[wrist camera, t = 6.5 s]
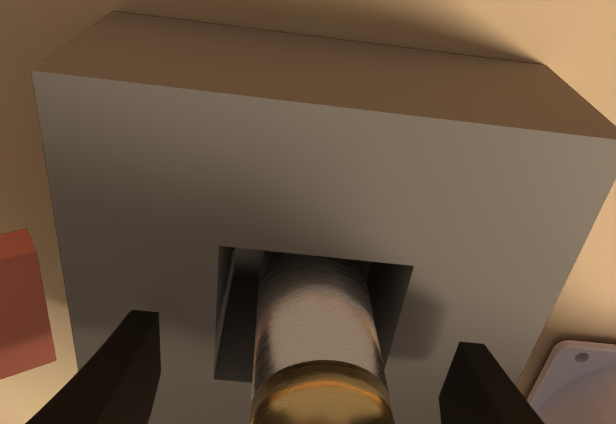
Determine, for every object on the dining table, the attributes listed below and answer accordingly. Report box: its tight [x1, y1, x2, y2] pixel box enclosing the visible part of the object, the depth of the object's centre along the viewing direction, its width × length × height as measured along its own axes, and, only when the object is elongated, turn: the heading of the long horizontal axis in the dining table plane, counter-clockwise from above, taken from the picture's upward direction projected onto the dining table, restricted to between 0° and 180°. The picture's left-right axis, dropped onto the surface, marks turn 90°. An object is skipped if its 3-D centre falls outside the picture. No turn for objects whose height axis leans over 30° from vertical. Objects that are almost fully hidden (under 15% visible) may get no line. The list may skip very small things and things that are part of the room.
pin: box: [250, 250, 395, 424], centre depth 14 cm, size 3×3×8 cm
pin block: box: [31, 11, 616, 424], centre depth 16 cm, size 12×12×5 cm
